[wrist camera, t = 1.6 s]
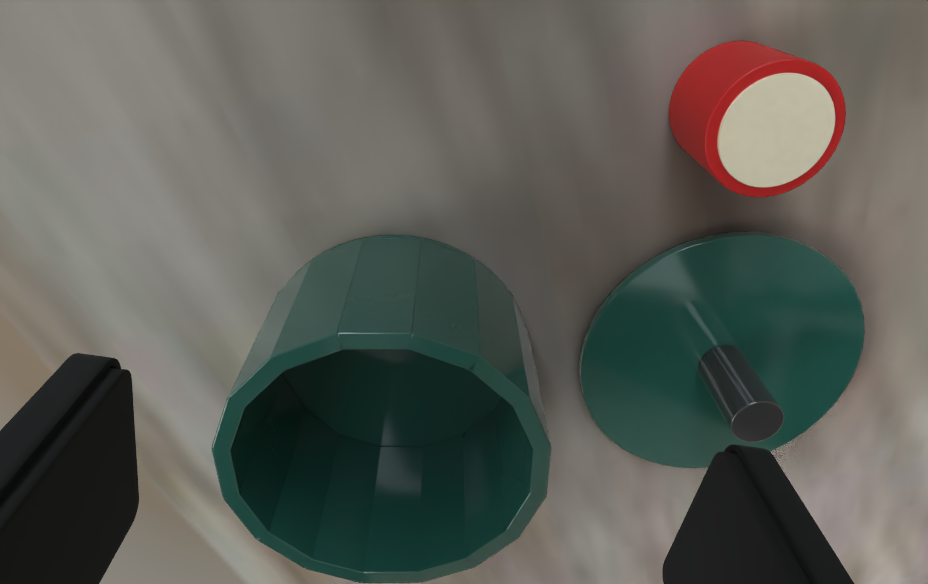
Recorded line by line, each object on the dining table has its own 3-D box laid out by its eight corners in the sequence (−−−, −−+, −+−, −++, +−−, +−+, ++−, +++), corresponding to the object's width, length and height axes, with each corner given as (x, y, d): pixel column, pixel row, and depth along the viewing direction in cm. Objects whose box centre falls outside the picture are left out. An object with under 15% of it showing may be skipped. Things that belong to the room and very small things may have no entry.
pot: (250, 233, 33) (184, 333, 25) (535, 234, 34) (563, 332, 25) (285, 450, 40) (241, 585, 32) (520, 449, 41) (538, 582, 32)
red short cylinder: (679, 40, 29) (721, 58, 25) (802, 41, 29) (866, 60, 25) (660, 161, 32) (694, 198, 27) (773, 162, 32) (826, 199, 28)
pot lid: (591, 225, 34) (619, 282, 28) (891, 226, 34) (975, 282, 28) (565, 455, 41) (583, 535, 36) (811, 454, 41) (866, 533, 36)
